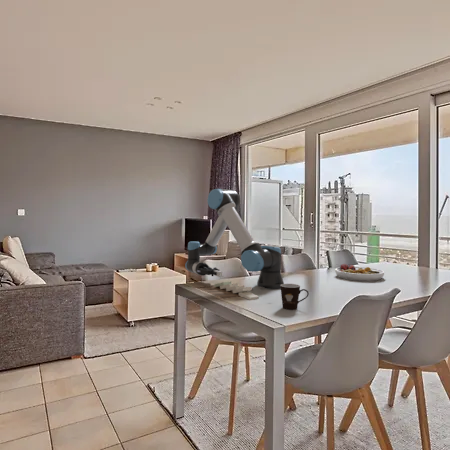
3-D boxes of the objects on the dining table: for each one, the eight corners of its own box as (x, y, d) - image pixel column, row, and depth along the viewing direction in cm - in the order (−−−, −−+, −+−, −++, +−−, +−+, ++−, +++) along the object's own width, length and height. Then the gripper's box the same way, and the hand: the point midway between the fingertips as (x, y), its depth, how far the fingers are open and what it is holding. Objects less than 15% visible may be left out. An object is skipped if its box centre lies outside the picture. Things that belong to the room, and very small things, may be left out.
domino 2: (219, 286, 199) (229, 284, 191) (227, 285, 202) (237, 283, 193) (220, 289, 199) (229, 287, 190) (228, 288, 201) (237, 286, 193)
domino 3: (225, 288, 194) (235, 286, 185) (233, 287, 196) (244, 285, 188) (226, 291, 193) (236, 289, 185) (234, 290, 196) (244, 288, 188)
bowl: (393, 279, 237) (393, 267, 237) (365, 284, 220) (365, 271, 220) (353, 272, 262) (353, 261, 262) (325, 276, 245) (325, 264, 245)
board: (194, 288, 203) (194, 287, 203) (221, 285, 212) (221, 284, 212) (223, 300, 176) (223, 298, 176) (252, 296, 185) (252, 294, 185)
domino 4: (232, 290, 188) (242, 287, 180) (240, 289, 191) (251, 286, 183) (232, 293, 188) (243, 290, 180) (241, 292, 191) (251, 289, 182)
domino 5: (238, 292, 183) (250, 297, 175) (247, 291, 186) (258, 296, 177) (238, 295, 183) (250, 300, 175) (246, 294, 186) (258, 299, 178)
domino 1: (214, 284, 204) (223, 282, 196) (221, 283, 207) (231, 281, 199) (214, 287, 204) (223, 285, 196) (222, 286, 207) (231, 284, 198)
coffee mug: (276, 307, 163) (276, 285, 163) (287, 304, 170) (287, 282, 169) (299, 313, 155) (299, 289, 155) (309, 309, 162) (309, 286, 161)
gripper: (210, 273, 227) (230, 280, 206) (191, 275, 220) (210, 282, 200) (210, 261, 226) (230, 266, 206) (191, 263, 219) (210, 268, 199)
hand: (220, 274), depth 203 cm, fingers closed
